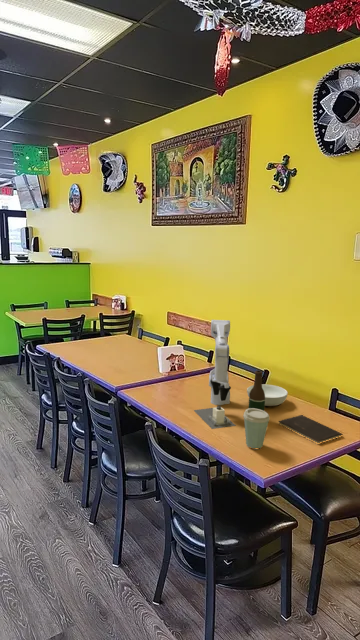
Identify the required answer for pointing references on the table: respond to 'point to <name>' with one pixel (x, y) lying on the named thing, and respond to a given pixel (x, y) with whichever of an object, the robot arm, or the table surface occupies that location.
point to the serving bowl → (272, 394)
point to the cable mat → (209, 411)
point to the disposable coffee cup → (255, 427)
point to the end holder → (213, 421)
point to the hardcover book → (310, 428)
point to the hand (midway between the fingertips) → (219, 397)
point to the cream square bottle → (218, 414)
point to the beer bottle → (257, 393)
